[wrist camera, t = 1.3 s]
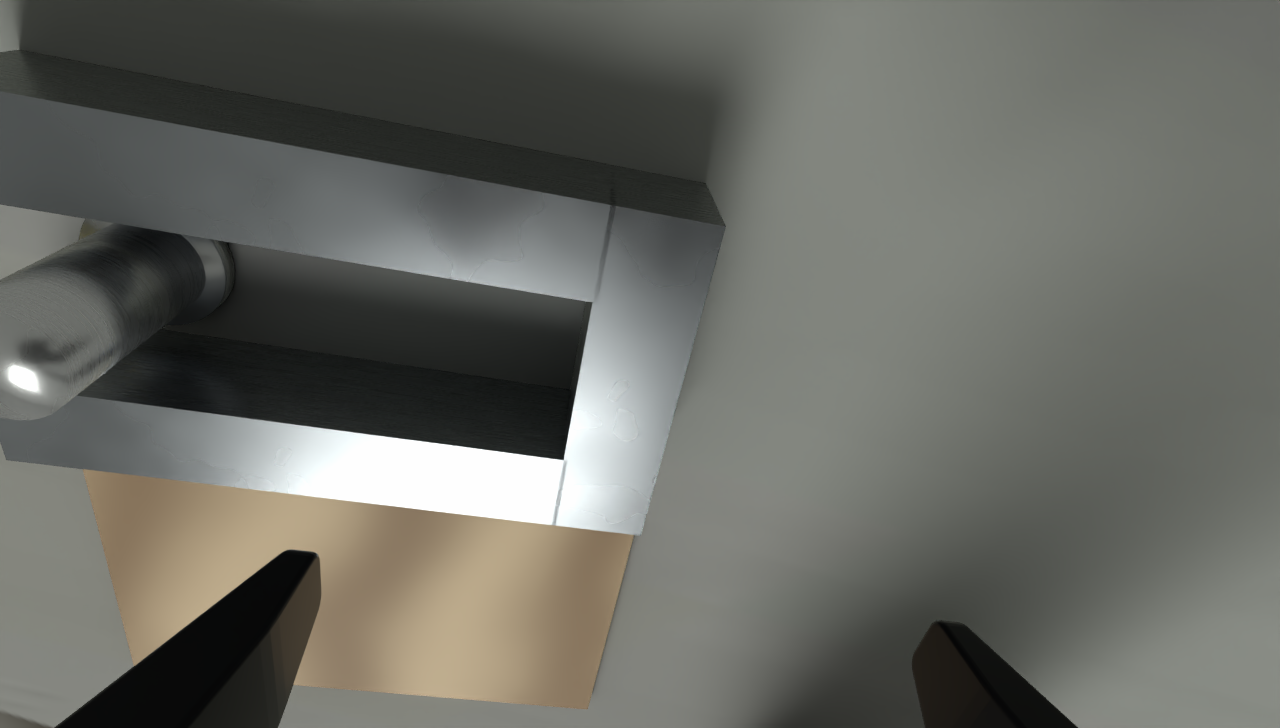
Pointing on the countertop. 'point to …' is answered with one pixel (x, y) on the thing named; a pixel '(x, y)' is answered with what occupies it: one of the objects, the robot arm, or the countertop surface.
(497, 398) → the metal u-shaped bracket
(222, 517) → the mat
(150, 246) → the post
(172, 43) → the countertop surface
